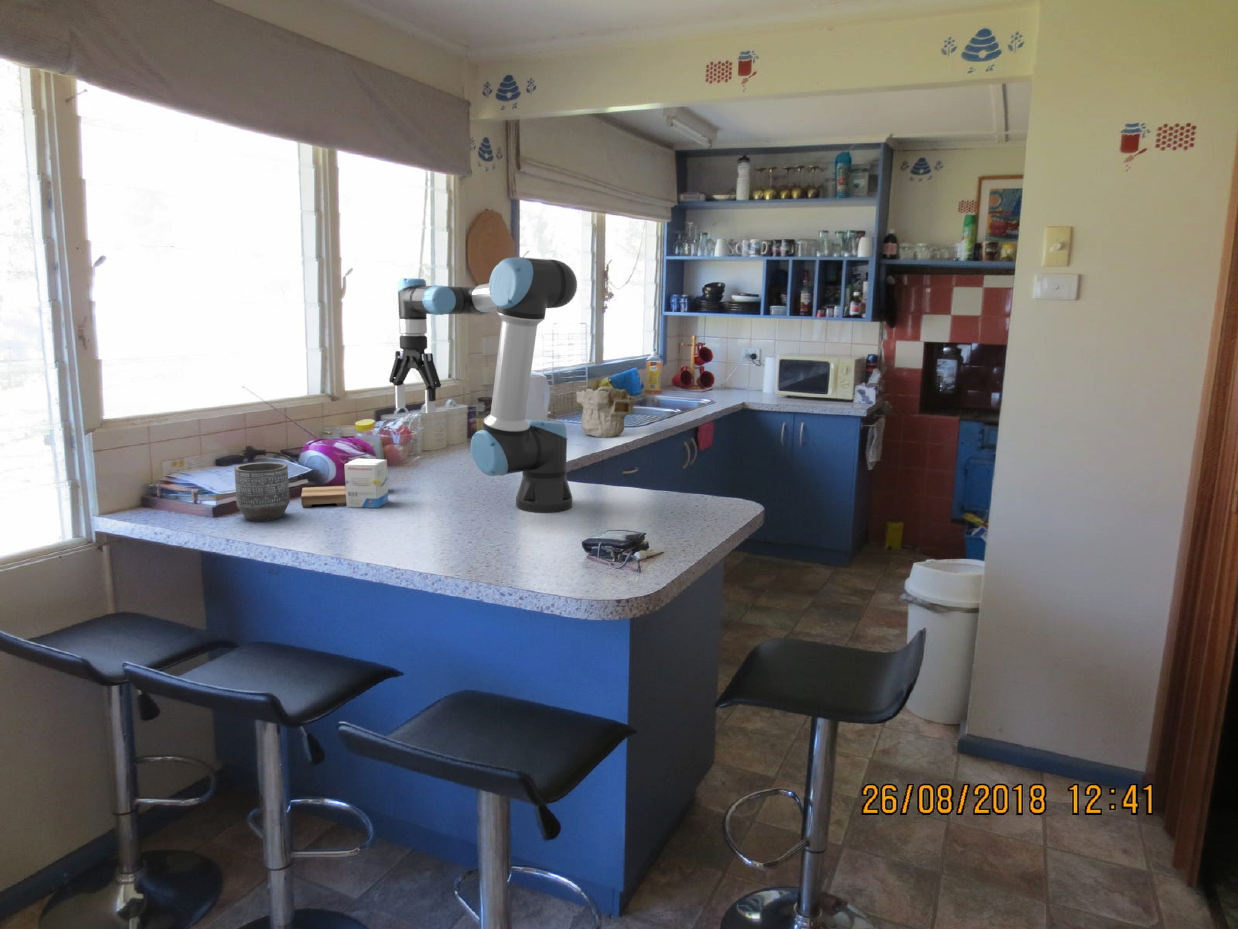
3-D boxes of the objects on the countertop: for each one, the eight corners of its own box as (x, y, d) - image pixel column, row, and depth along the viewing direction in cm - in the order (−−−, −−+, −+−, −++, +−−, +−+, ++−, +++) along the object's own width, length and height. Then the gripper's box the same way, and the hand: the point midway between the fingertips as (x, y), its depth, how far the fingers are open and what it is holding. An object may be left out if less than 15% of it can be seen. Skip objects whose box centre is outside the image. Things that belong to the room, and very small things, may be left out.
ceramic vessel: (601, 408, 373) (626, 365, 358) (628, 449, 362) (655, 406, 347) (559, 410, 359) (583, 366, 344) (586, 453, 347) (612, 409, 332)
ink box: (389, 501, 233) (387, 458, 230) (377, 508, 224) (376, 464, 222) (358, 500, 233) (356, 457, 231) (345, 507, 225) (343, 463, 223)
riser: (346, 505, 227) (345, 494, 226) (301, 507, 223) (301, 496, 223) (345, 496, 237) (345, 485, 236) (303, 498, 234) (302, 487, 233)
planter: (300, 515, 216) (298, 465, 213) (259, 525, 206) (255, 473, 203) (269, 508, 222) (266, 460, 219) (226, 518, 212) (223, 467, 209)
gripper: (452, 336, 235) (454, 413, 239) (397, 332, 251) (399, 405, 255) (430, 336, 230) (432, 415, 234) (375, 333, 245) (377, 407, 249)
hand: (415, 410), depth 244 cm, fingers open, 13 cm apart
